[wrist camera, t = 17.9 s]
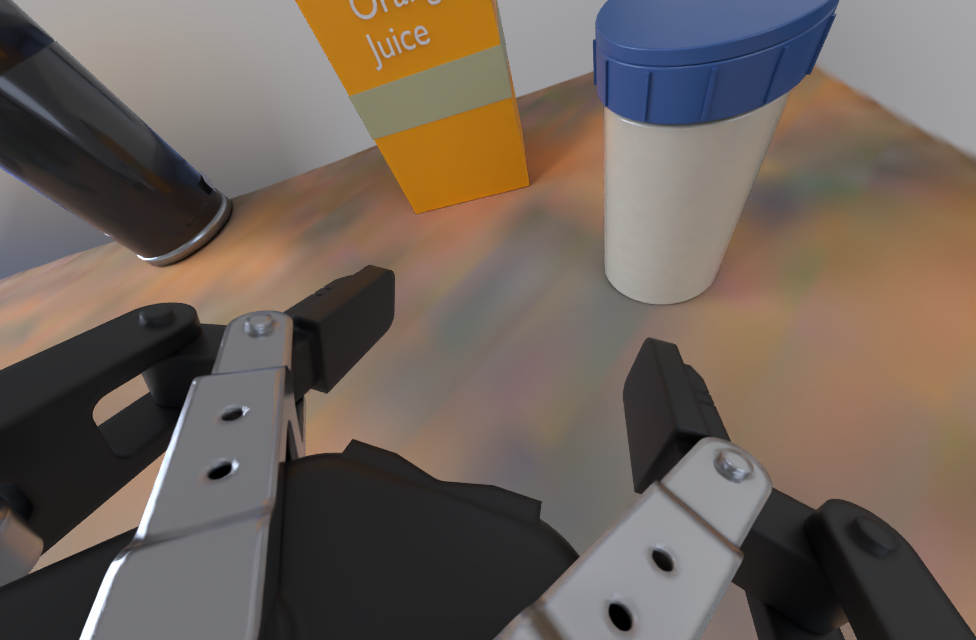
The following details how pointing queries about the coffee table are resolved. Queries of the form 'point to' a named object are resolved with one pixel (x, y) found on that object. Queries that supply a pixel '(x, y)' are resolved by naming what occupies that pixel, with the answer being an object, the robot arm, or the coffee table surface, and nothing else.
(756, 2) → the lid
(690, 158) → the jar
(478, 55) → the orange juice
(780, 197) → the coffee table surface
